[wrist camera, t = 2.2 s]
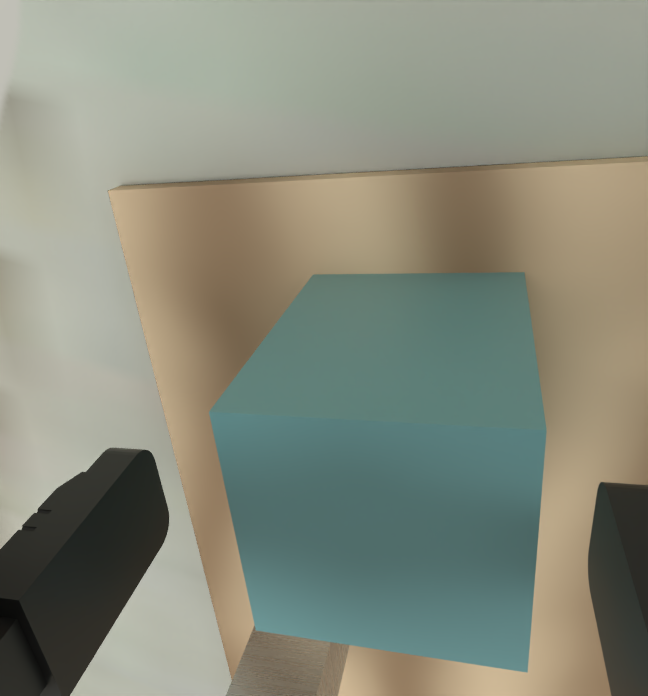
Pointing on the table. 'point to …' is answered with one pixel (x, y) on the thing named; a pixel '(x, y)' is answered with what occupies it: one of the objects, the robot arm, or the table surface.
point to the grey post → (288, 666)
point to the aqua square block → (392, 466)
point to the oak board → (399, 258)
